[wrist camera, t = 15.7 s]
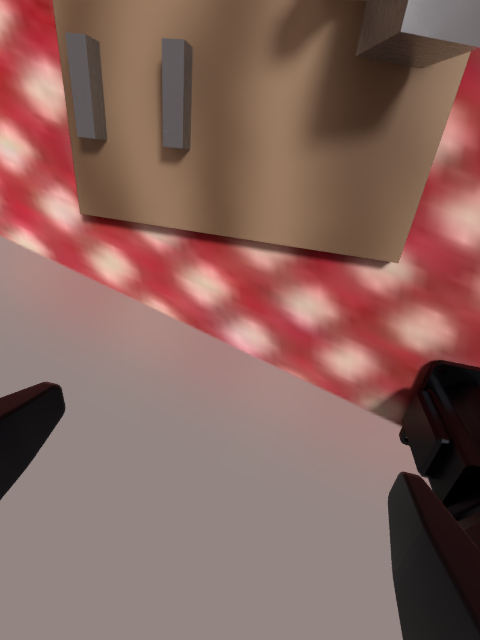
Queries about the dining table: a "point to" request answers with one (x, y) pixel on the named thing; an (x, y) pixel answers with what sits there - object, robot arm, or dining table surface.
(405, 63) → the grey piece
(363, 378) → the dining table surface
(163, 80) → the socket
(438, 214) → the dining table surface
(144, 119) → the board
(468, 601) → the robot arm
